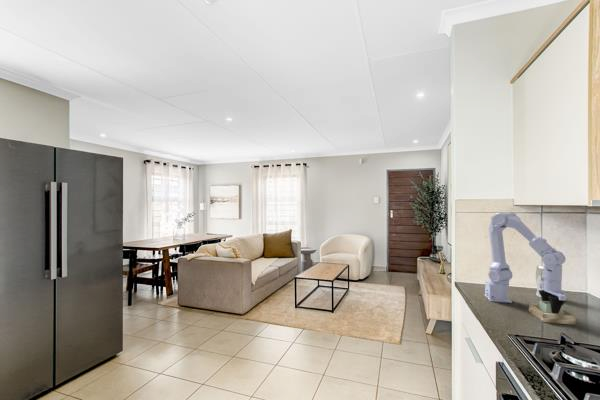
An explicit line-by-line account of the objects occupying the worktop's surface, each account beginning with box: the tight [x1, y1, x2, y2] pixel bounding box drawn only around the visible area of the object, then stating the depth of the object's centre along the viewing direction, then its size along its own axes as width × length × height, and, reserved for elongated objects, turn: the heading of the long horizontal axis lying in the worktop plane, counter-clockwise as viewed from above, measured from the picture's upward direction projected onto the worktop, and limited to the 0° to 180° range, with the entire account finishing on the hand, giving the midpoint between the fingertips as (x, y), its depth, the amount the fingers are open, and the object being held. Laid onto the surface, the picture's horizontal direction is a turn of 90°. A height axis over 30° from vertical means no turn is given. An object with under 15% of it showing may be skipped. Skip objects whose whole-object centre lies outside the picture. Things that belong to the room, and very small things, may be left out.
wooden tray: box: [528, 303, 577, 326], centre depth 123 cm, size 12×11×4 cm
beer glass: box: [535, 265, 545, 298], centre depth 146 cm, size 7×7×15 cm
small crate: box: [538, 300, 564, 315], centre depth 123 cm, size 6×5×4 cm
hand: (551, 310), depth 123 cm, fingers closed on small crate, 5 cm apart
